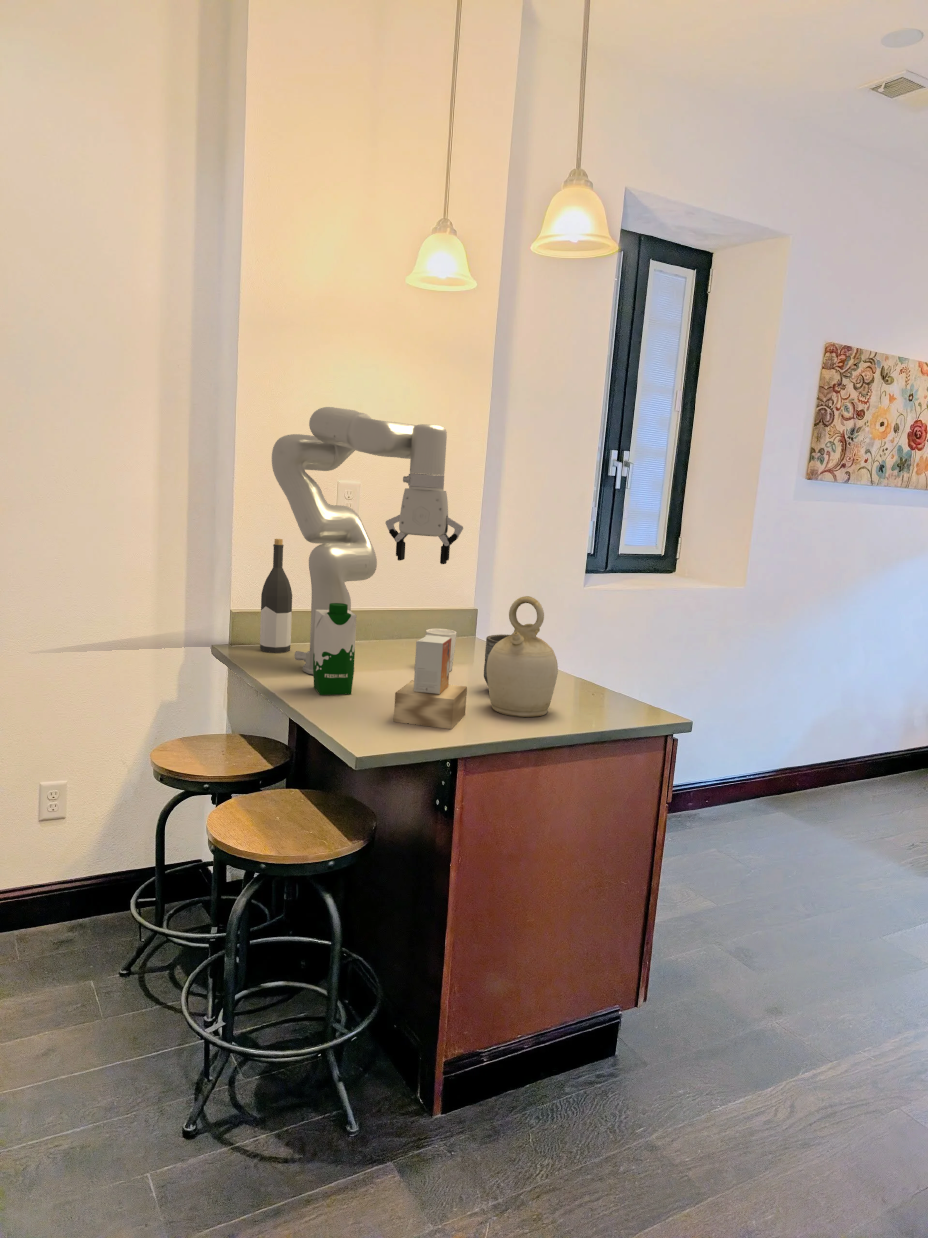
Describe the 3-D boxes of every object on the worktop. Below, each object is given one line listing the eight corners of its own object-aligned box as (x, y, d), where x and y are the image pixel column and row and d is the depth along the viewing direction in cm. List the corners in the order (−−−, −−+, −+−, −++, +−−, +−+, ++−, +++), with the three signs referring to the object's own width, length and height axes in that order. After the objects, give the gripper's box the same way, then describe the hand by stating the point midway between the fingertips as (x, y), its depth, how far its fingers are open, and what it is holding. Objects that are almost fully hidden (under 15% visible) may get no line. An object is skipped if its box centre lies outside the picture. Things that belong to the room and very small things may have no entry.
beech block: (393, 721, 176) (395, 692, 175) (410, 707, 188) (412, 680, 187) (451, 729, 174) (453, 699, 173) (465, 714, 185) (467, 686, 184)
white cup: (418, 670, 225) (420, 631, 224) (431, 664, 232) (433, 627, 231) (447, 674, 222) (449, 635, 221) (458, 668, 230) (461, 631, 228)
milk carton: (317, 696, 192) (320, 605, 189) (308, 686, 200) (312, 599, 197) (356, 695, 195) (360, 606, 192) (346, 685, 204) (350, 600, 201)
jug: (511, 697, 203) (519, 589, 199) (567, 711, 193) (577, 599, 189) (469, 708, 191) (477, 593, 187) (527, 724, 181) (537, 603, 177)
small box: (439, 695, 176) (443, 643, 174) (412, 692, 177) (415, 640, 175) (449, 686, 183) (452, 636, 182) (423, 683, 185) (426, 634, 183)
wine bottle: (296, 650, 239) (300, 540, 235) (275, 654, 232) (279, 540, 228) (274, 645, 243) (278, 537, 239) (253, 649, 237) (256, 537, 232)
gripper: (383, 480, 189) (379, 559, 191) (461, 485, 185) (456, 566, 188) (393, 480, 196) (389, 557, 199) (469, 485, 192) (464, 563, 195)
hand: (422, 561), depth 193 cm, fingers open, 9 cm apart
